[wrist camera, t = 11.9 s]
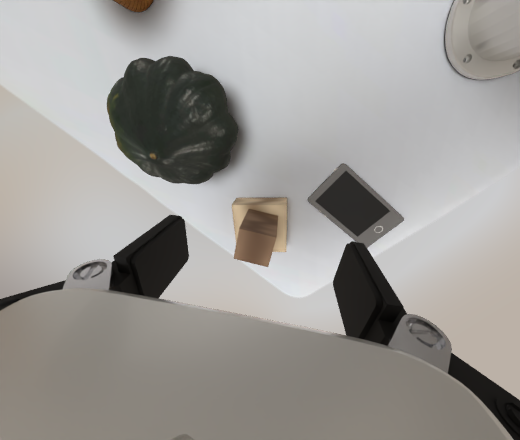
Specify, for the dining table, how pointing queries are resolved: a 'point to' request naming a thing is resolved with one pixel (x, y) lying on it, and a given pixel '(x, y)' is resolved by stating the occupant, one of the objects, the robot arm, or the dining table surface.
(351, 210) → the smartphone
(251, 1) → the dining table surface
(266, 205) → the oak base block
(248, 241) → the walnut block
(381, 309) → the robot arm
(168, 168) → the squash
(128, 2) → the disposable coffee cup
